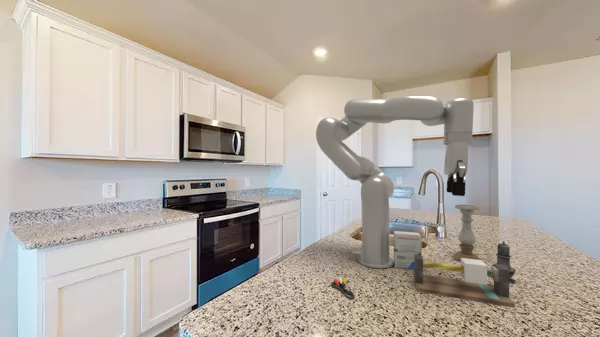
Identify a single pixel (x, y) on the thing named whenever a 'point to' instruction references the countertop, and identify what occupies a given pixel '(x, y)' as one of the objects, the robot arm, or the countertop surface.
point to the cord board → (463, 283)
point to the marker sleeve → (474, 271)
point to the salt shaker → (505, 259)
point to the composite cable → (342, 287)
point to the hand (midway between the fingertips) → (455, 194)
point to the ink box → (406, 248)
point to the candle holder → (466, 234)
